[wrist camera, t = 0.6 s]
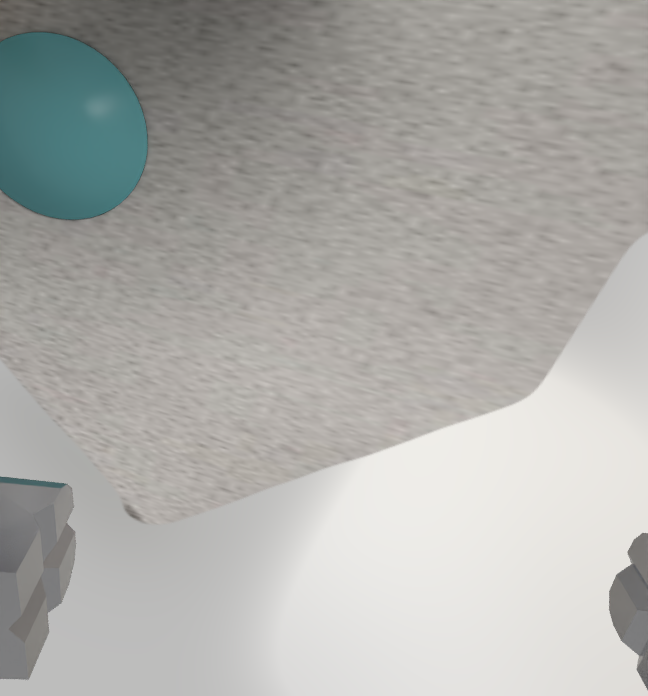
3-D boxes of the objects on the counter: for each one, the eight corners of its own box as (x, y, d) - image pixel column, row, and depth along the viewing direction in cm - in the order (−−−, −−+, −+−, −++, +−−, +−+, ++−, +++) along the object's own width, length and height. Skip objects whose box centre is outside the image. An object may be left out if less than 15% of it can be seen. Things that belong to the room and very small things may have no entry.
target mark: (-75, 90, 47) (-76, 90, 47) (74, -6, 44) (73, -6, 44) (43, 247, 52) (42, 248, 52) (181, 169, 50) (181, 170, 50)
